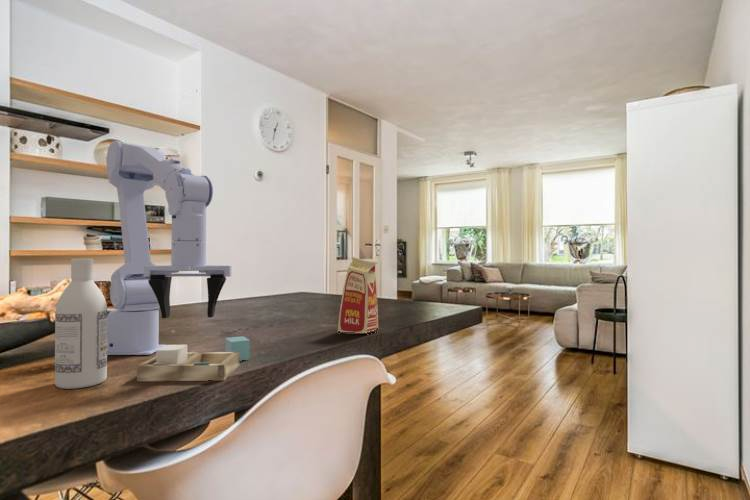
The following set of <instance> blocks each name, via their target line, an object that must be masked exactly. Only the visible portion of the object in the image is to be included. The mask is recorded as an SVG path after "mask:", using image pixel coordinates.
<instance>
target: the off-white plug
mask: <svg viewBox="0 0 750 500" xmlns="http://www.w3.org/2000/svg"><path fill="white" fill-rule="evenodd" d="M165 345H166V346H164V347H162V348H160V349H158V350H156V352H155V354H156V355H155V356H156V363H168V362H170V364H181V363H183V362H184V361H186V360H187V352H188V344H165Z"/></svg>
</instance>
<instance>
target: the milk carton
mask: <svg viewBox="0 0 750 500" xmlns="http://www.w3.org/2000/svg"><path fill="white" fill-rule="evenodd" d="M377 264H378V262H376V261H370V260H369V261H368V260H364V259H362V258H358V257H355V256H351V263H350V264H349V265H348V268H347V271H346V275H345V281H344V284H343V290H342V296H341V299H340V307H339V315H338V323H337V324H338V325H337V332H338V331H340V332H355V333H367V332H370V331H374V330H376V329H377V328H378V329H379V309H378V295H377V294H378V289H377V280H376V278H377V277H376V265H377Z"/></svg>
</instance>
